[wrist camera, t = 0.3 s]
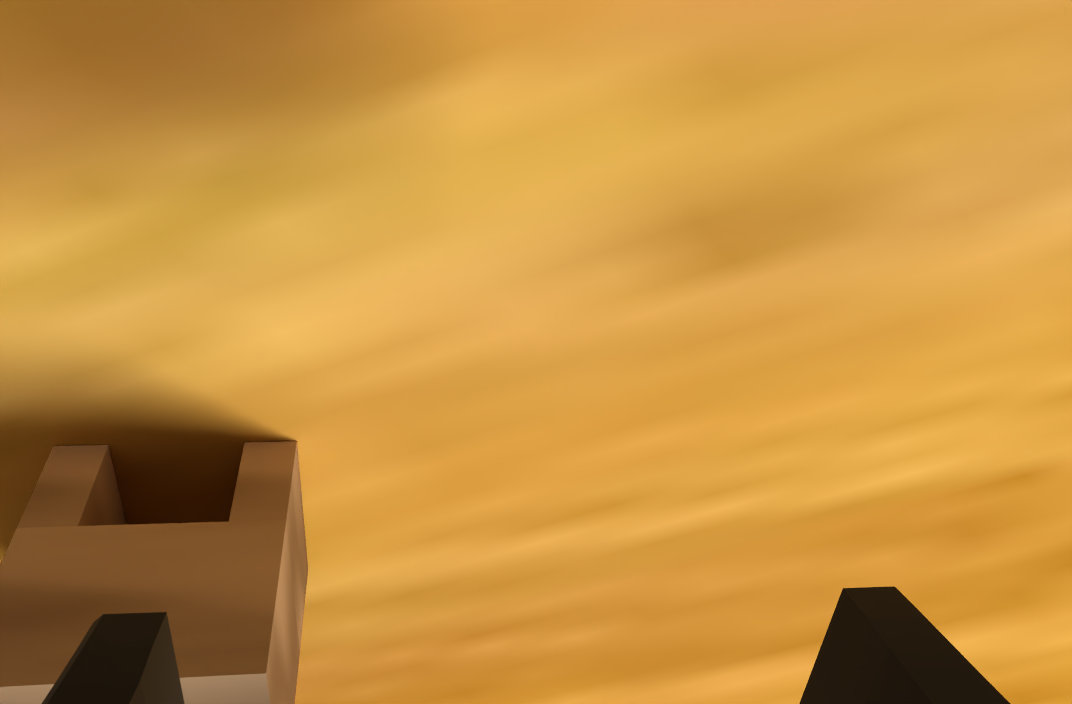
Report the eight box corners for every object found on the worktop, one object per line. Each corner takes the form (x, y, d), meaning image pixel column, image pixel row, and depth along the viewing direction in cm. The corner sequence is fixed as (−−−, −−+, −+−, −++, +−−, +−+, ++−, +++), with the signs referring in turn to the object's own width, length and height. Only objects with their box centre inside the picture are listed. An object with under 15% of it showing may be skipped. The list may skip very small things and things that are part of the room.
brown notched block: (308, 577, 23) (285, 815, 19) (91, 585, 23) (8, 834, 18) (296, 441, 21) (266, 673, 16) (53, 446, 20) (-56, 689, 15)
